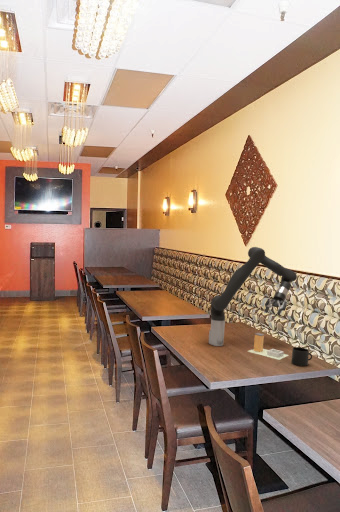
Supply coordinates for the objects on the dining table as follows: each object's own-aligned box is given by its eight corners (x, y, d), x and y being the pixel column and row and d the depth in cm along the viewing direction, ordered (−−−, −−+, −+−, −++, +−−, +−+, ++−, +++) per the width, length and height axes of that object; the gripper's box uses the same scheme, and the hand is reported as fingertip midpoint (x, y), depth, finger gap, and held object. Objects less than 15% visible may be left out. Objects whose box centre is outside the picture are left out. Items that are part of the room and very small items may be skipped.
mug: (314, 367, 250) (315, 352, 250) (294, 366, 250) (295, 351, 249) (308, 361, 260) (309, 347, 259) (289, 361, 259) (290, 346, 259)
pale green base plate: (247, 353, 270) (247, 347, 270) (257, 349, 281) (258, 343, 280) (278, 362, 256) (279, 355, 256) (288, 357, 267) (289, 351, 266)
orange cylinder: (253, 350, 272) (254, 333, 272) (256, 349, 276) (257, 332, 275) (259, 352, 270) (261, 335, 269) (262, 350, 273) (264, 334, 272)
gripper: (269, 289, 291) (260, 307, 283) (289, 292, 282) (280, 311, 274) (272, 296, 295) (263, 314, 287) (291, 299, 286) (283, 318, 278)
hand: (271, 313), depth 281 cm, fingers open, 8 cm apart
